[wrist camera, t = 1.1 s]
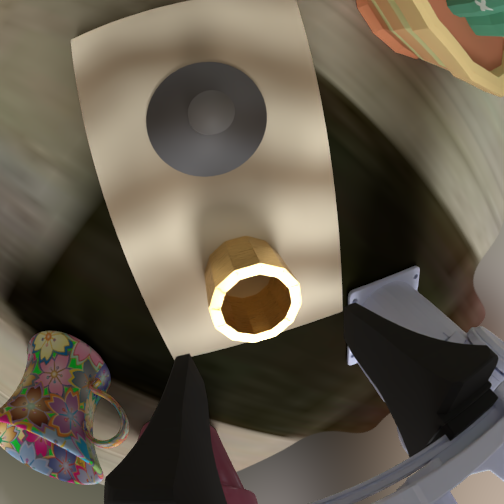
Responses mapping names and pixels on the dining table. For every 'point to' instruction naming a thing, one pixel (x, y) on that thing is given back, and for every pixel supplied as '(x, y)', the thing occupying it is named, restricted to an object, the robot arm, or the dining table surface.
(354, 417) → the dining table surface
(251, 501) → the plant pot
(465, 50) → the potted cactus
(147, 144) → the post board
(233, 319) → the brass collar
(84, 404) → the mug
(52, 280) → the dining table surface
